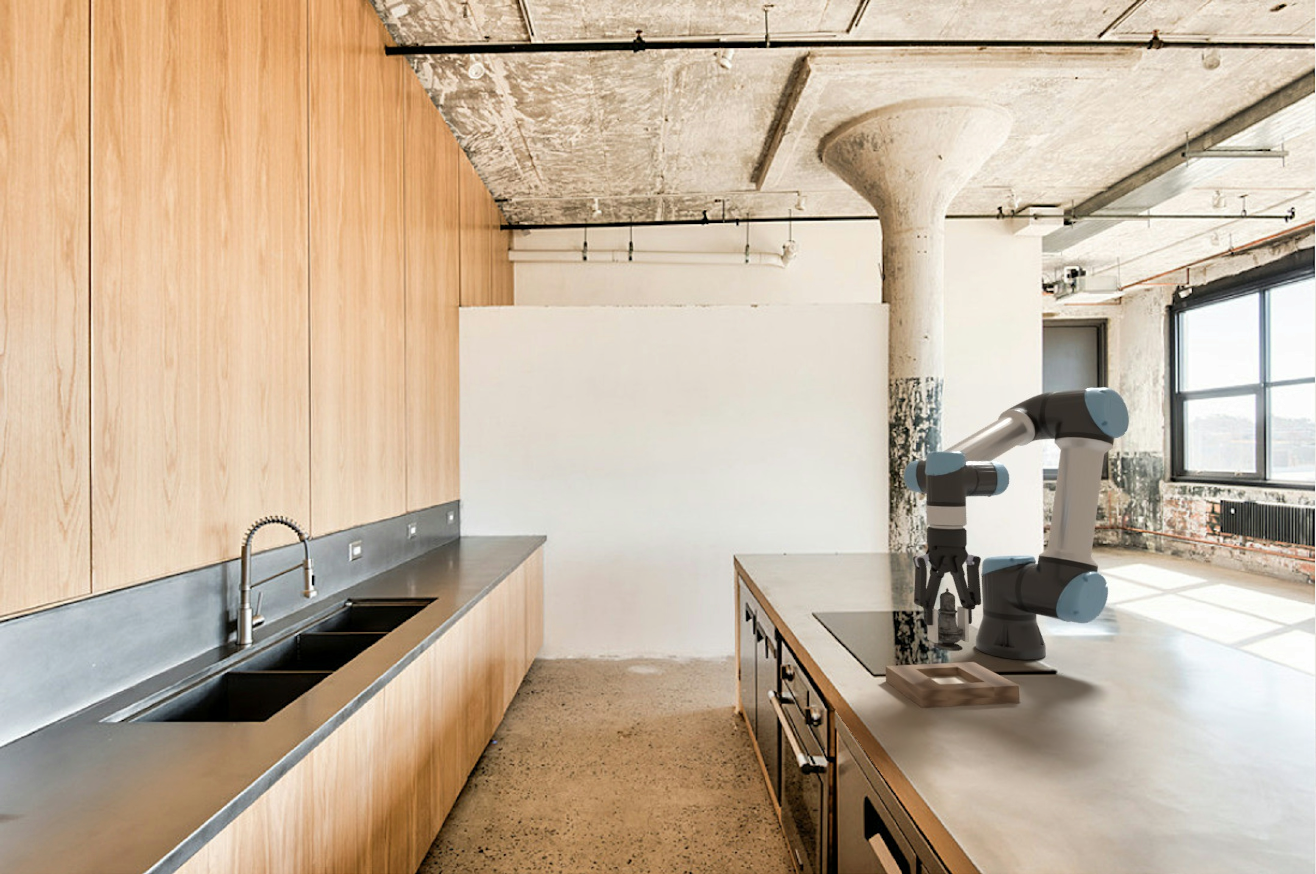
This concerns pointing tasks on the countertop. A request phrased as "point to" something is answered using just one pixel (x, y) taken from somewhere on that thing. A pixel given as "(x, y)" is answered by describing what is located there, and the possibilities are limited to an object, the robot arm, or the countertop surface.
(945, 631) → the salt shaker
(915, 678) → the wooden frame
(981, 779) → the countertop surface
